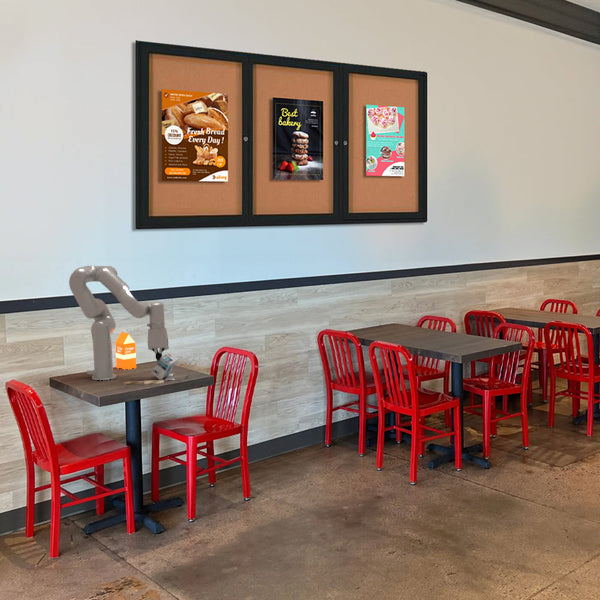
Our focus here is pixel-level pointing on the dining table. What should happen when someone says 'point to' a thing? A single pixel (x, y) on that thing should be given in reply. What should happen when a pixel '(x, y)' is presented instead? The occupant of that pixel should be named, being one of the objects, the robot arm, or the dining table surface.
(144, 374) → the dining table surface
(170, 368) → the light bulb box
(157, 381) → the beech turner
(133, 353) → the orange juice
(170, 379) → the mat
